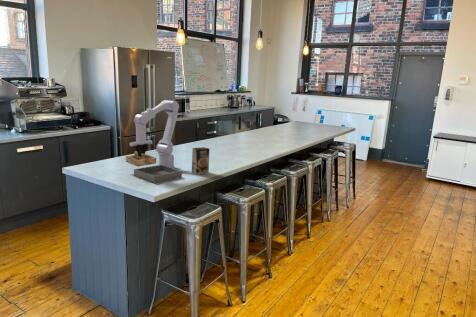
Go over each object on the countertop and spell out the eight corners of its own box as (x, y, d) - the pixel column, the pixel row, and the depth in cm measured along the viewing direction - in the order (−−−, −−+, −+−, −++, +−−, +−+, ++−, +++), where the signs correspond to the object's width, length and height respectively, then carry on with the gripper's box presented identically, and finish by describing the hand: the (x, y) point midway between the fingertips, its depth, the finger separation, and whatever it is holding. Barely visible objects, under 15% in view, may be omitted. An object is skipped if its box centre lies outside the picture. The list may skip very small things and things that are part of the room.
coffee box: (196, 175, 224) (197, 149, 220) (191, 172, 229) (191, 147, 225) (209, 173, 229) (209, 148, 225) (203, 171, 234) (204, 146, 230)
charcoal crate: (161, 170, 231) (161, 164, 230) (181, 177, 218) (181, 170, 217) (134, 175, 216) (133, 169, 215) (153, 183, 203) (153, 176, 202)
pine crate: (144, 158, 231) (144, 150, 229) (156, 163, 222) (156, 154, 221) (125, 161, 221) (125, 152, 220) (137, 166, 213) (137, 157, 211)
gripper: (147, 132, 225) (147, 154, 228) (126, 134, 215) (127, 157, 218) (154, 134, 221) (154, 155, 224) (133, 136, 210) (133, 159, 213)
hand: (141, 156), depth 221 cm, fingers closed on pine crate
